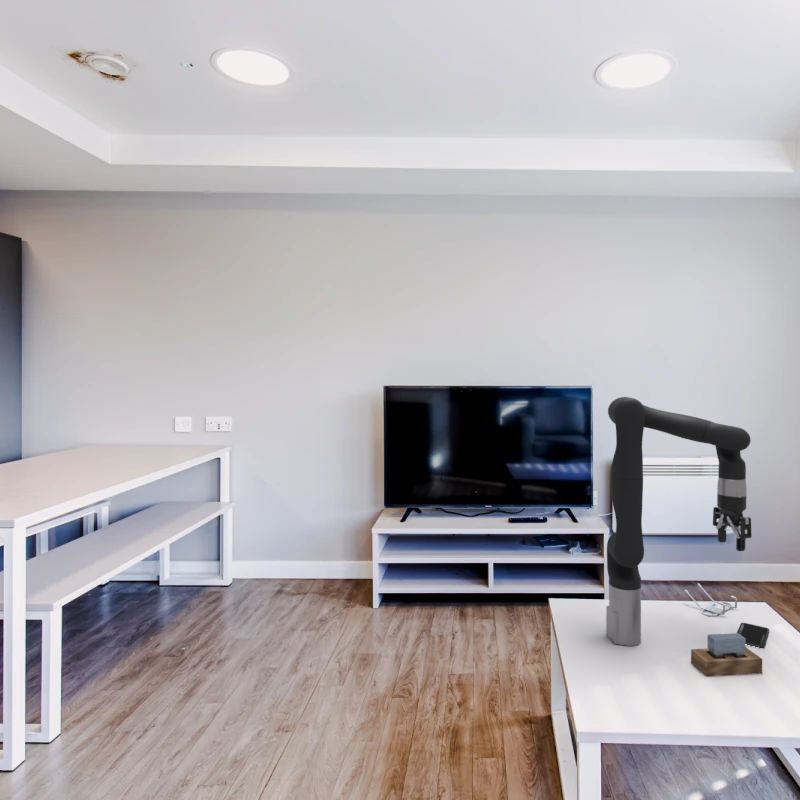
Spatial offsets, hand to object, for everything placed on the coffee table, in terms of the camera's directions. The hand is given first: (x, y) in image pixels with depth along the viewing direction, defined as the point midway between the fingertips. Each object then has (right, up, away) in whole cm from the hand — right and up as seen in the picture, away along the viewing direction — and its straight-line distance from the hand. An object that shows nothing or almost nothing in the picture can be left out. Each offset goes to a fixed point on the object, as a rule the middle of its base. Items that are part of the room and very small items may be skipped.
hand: (731, 546), depth 169 cm
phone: (+10, -30, +6) cm, 33 cm away
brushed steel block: (-9, -30, -12) cm, 33 cm away
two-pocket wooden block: (-9, -31, -12) cm, 34 cm away
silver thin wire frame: (+9, -29, +27) cm, 41 cm away
